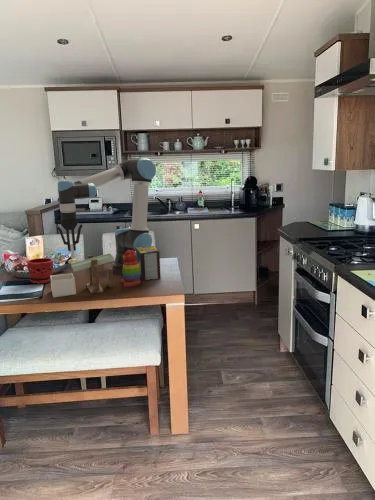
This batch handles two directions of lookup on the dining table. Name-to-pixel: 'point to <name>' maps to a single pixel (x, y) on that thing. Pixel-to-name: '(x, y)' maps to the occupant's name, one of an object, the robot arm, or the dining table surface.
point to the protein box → (148, 262)
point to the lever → (87, 263)
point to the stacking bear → (130, 269)
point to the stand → (97, 277)
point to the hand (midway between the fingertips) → (72, 257)
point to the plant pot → (40, 270)
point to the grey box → (63, 285)
